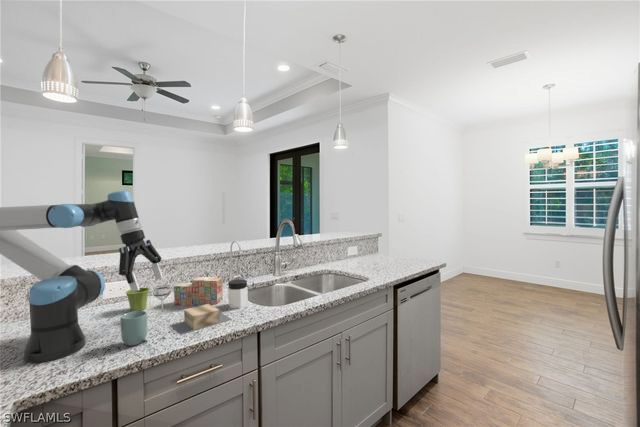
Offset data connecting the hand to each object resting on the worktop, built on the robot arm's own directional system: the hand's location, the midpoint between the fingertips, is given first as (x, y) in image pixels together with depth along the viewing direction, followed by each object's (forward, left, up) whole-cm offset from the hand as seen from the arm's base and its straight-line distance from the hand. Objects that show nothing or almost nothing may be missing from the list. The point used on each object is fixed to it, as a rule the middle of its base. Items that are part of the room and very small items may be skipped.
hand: (148, 284), depth 115 cm
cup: (-7, -10, -17) cm, 21 cm away
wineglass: (+8, +12, -17) cm, 23 cm away
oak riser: (+16, -11, -16) cm, 25 cm away
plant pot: (+2, +27, -17) cm, 33 cm away
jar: (+36, -3, -17) cm, 40 cm away
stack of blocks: (+25, +16, -18) cm, 34 cm away
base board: (+16, -11, -17) cm, 26 cm away
